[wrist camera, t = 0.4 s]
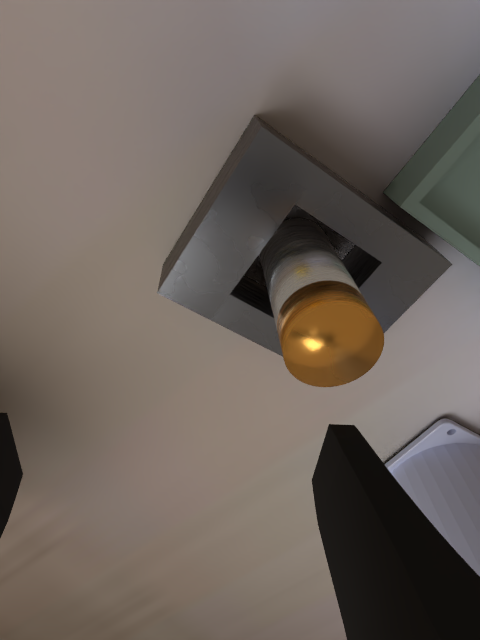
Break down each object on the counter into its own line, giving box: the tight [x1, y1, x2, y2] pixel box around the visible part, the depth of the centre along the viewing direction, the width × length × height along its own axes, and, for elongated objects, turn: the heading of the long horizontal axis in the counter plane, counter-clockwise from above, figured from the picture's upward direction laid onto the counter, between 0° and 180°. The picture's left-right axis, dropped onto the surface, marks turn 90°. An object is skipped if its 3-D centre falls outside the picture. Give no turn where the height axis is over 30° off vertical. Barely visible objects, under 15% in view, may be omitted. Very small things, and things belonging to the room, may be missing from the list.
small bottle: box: [260, 218, 384, 387], centre depth 16 cm, size 3×3×7 cm
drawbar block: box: [157, 115, 452, 356], centre depth 17 cm, size 9×7×2 cm
